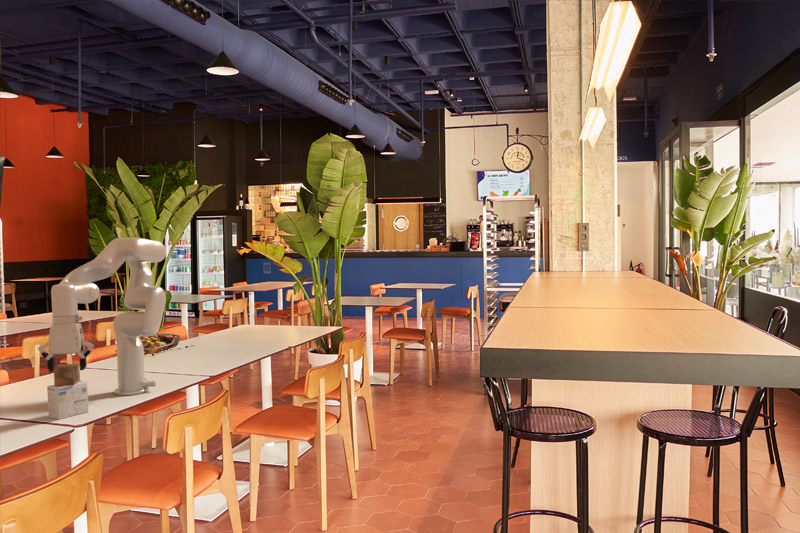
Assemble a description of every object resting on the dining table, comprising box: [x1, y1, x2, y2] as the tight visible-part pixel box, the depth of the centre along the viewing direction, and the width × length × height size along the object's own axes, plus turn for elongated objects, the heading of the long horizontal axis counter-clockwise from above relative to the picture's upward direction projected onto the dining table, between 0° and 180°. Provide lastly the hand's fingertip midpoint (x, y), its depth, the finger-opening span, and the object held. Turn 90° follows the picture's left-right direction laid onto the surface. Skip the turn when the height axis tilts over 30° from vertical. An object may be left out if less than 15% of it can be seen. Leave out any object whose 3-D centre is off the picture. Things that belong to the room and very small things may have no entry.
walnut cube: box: [53, 363, 81, 386], centre depth 207 cm, size 6×6×6 cm
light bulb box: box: [46, 380, 89, 420], centre depth 207 cm, size 11×7×11 cm, turn 149°
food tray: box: [114, 332, 181, 357], centre depth 337 cm, size 35×26×11 cm
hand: (67, 370), depth 207 cm, fingers open, 9 cm apart
